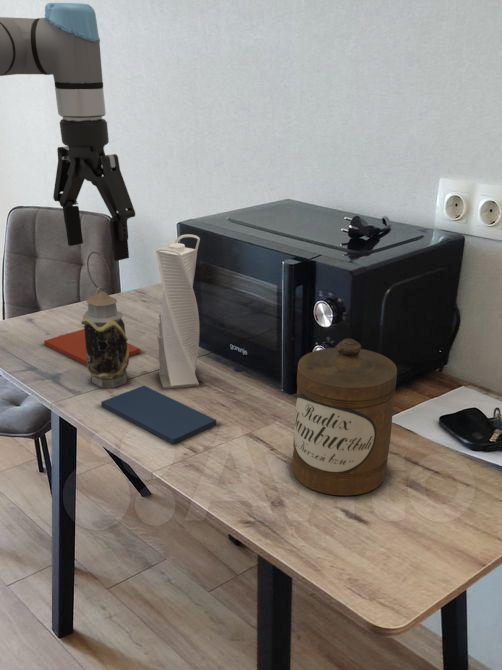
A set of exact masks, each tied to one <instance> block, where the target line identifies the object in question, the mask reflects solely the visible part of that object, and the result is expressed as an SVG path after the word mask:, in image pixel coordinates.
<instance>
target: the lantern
mask: <svg viewBox="0 0 502 670" xmlns="http://www.w3.org/2000/svg"><path fill="white" fill-rule="evenodd" d="M93 254H97V255H98V256H100V258H101V259H102V260H103V262H104V263H105V266H106V268H107V274H108V282H107V285H106V286H105V287H103V286H100V287H99V286H98V285H97V284H96V283H95V281H94V280H93V277H92V276H91V273H90V267H89V261H90V257H91V256H92V255H93ZM86 268H87V269H86V270H87V273H88V277H89V279H90V282H92V284H93V285H94V286H95V288H97V290H96V293H95V294H93V295H92V296H90V297H89V298H87V299H86V301H85V303H86V304H87V310H86V311H85V313H84V315H82V316H83V317H82V319H81V322H80V324H81V325H83V329H84V332H85V343H86V353H87V363H88V366H87V365H86V367H87V370H88V372H89V374H90V375H91V380H92V384H94V385H95V386H98V387H100V388H101V389H102V388H103V389H104V388H106V389H107V388H109V389H110V388H112V389H113V388H116V387H119V386H122V385H124V384H126V383H127V381H128V372H127V369H128V367H129V362H130V361H129V345H128V344H129V343H128V342H127V341H129V339H128V337H127V334H126V327H125V323H124V321H123V319H122V317H123V315H124V314H123V313H122V312H119V311H118V308H117V302H118V300H117V298H115V297H114V296H110V294H108V293H106V292H105V291H106V290H107V289H108V288H109V286H110V284H111V271H110V268H109V265H108V262H107V260H106V259H105V258H104V256H103V255H102V254H101V253H99V252H98V251H91V252H90V253H89V254H88V256H87V260H86Z"/></svg>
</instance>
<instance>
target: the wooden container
mask: <svg viewBox="0 0 502 670" xmlns="http://www.w3.org/2000/svg"><path fill="white" fill-rule="evenodd" d="M397 369H398V368H397V366H396V364H395V363H394V362H393V361H392V360H391V359H390V358H388V357H387V356H385V355H383V354H380V353H378V352H375V351H372V350H368V349H364V348H362V345H361V343H360V342H359V341H356V340H355V339H354V338H345V339H343V340H341V341H339V342H338V344H336V347H327V348H322V349H318V350H313V351H311V352H308V353H306V354H305V355H303V356H302V357H301V358H300V359H299V360H298V363H297V371H296V386H297V387H296V389H297V390H296V401H295V416H294V429H293V430H294V431H293V444H292V445H293V446H292V447H293V450H292V472H293V474H294V477H295V478H296V479H297V480H298V481H299V482H300V483H301V484H302V485H303V486H305V487H307V488H309V489H311V490H314V491H316V492H319V493H322V494H327V495H331V496H356V495H362V494H366V493H369V492H371V491H373V490H375V489H377V488H378V487H379V486H381V484H382V483H383V482H384V481H385V478H386V473H387V468H388V466H387V465H388V457H389V452H390V443H391V436H392V426H393V414H394V404H395V395H396V394H395V393H396V387H397V378H398V377H397V376H398V370H397Z"/></svg>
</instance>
